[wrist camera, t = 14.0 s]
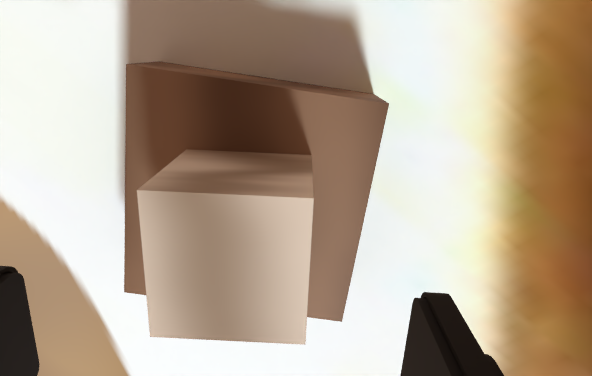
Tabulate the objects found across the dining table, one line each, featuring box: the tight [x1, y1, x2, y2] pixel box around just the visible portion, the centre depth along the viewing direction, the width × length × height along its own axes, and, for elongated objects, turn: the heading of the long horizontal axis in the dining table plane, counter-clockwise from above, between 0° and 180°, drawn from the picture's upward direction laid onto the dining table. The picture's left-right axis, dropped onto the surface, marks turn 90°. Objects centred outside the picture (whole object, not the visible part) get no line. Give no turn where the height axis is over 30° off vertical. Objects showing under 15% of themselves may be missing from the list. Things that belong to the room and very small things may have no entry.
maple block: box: [137, 149, 314, 344], centre depth 15 cm, size 5×5×5 cm
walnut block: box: [124, 62, 389, 322], centre depth 19 cm, size 10×10×4 cm
